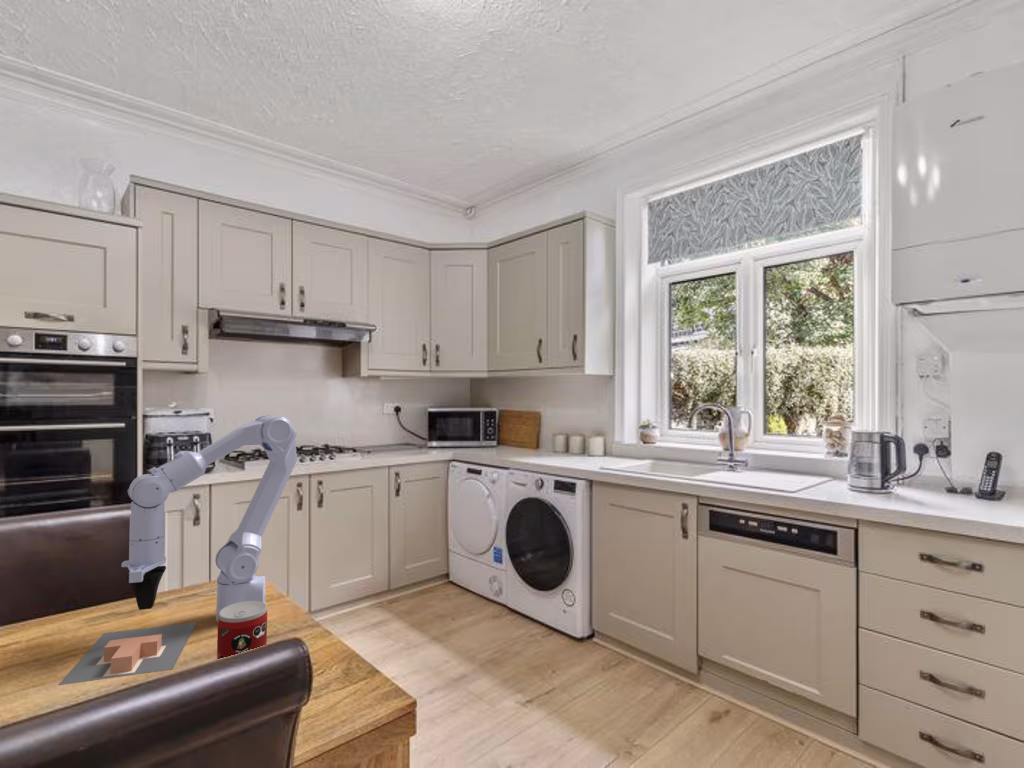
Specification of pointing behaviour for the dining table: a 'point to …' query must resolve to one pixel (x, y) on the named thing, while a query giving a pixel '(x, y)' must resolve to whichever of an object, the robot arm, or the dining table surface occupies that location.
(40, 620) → the dining table surface
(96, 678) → the board
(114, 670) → the t block
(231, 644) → the canned food
